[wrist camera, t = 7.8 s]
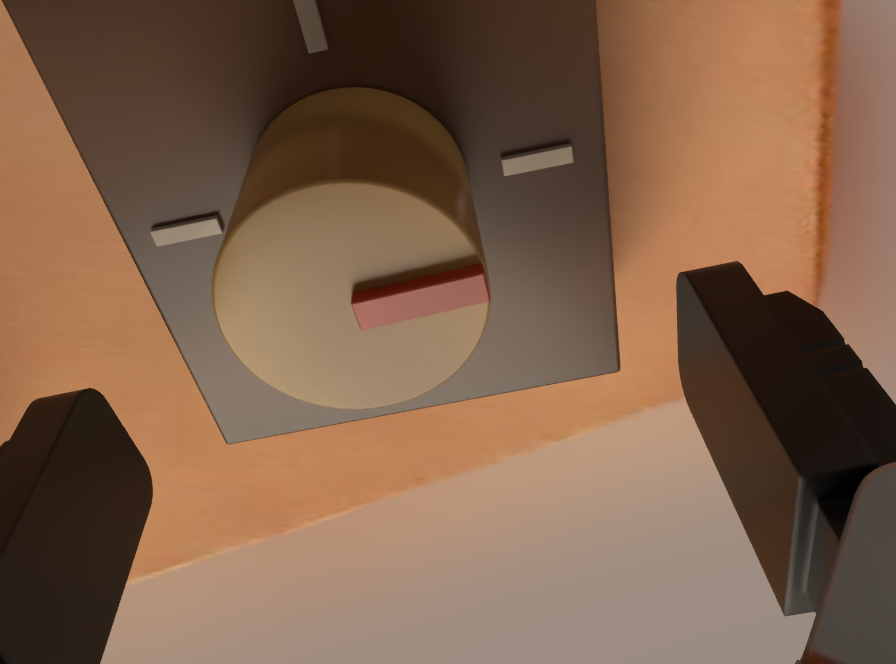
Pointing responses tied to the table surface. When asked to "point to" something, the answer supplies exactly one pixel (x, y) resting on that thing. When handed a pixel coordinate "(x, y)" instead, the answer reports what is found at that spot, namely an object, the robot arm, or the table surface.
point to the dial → (353, 254)
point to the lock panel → (330, 67)
